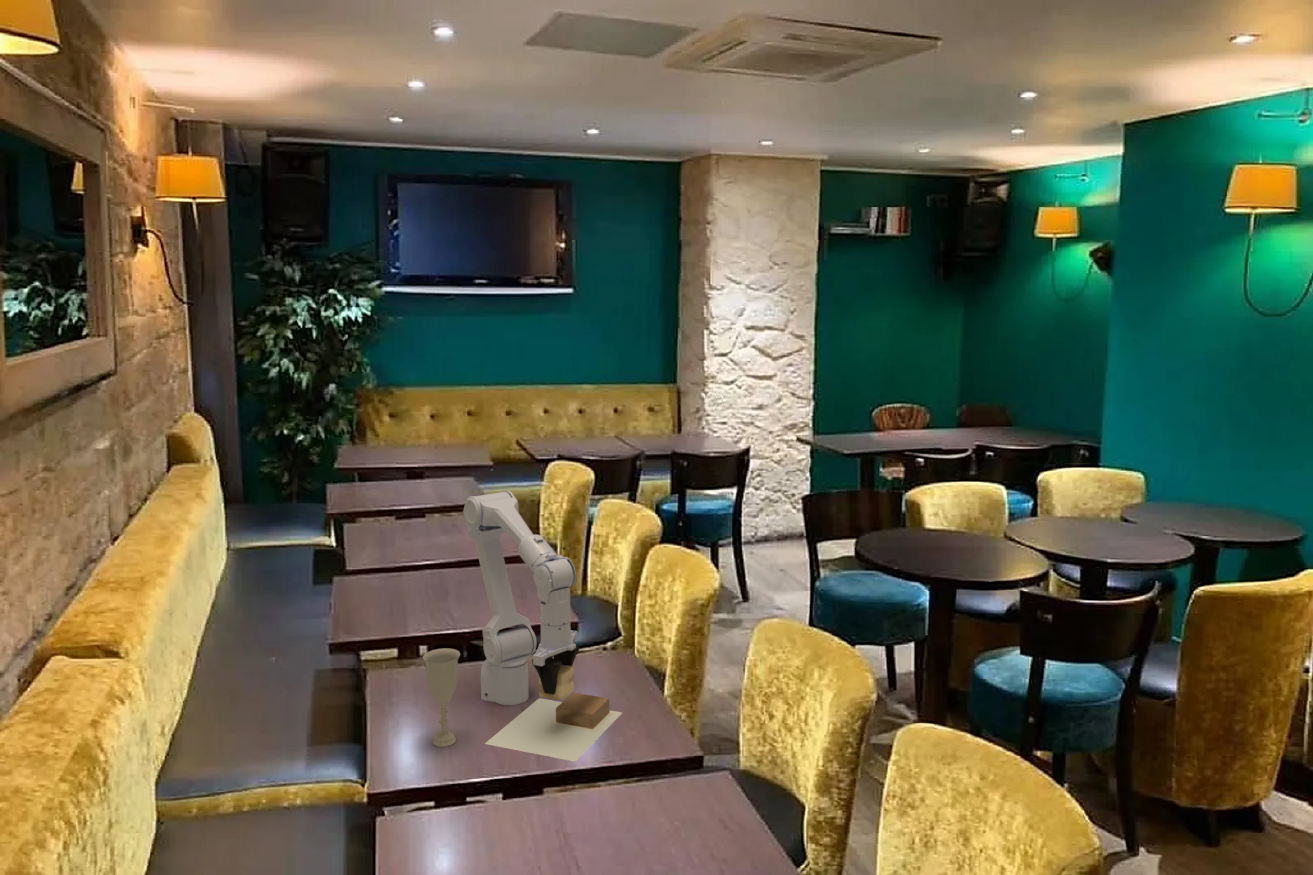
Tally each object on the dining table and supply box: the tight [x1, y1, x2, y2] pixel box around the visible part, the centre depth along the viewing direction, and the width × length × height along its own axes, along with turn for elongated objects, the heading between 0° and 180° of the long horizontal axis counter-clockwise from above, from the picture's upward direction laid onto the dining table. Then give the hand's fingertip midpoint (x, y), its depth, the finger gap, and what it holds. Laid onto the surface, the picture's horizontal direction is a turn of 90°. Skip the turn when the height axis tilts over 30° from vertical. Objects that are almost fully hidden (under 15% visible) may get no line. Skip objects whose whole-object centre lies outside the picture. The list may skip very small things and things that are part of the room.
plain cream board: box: [484, 697, 623, 763], centre depth 196 cm, size 19×22×1 cm
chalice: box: [422, 647, 461, 748], centre depth 189 cm, size 7×7×18 cm
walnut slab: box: [556, 691, 610, 729], centre depth 200 cm, size 8×8×3 cm
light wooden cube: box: [538, 665, 575, 702], centre depth 195 cm, size 5×5×5 cm
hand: (556, 687), depth 195 cm, fingers closed on light wooden cube, 5 cm apart
